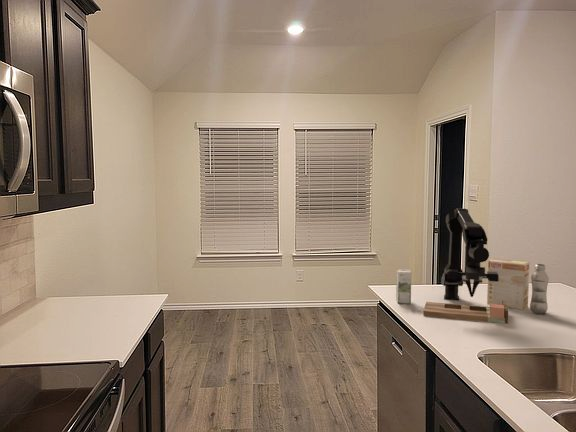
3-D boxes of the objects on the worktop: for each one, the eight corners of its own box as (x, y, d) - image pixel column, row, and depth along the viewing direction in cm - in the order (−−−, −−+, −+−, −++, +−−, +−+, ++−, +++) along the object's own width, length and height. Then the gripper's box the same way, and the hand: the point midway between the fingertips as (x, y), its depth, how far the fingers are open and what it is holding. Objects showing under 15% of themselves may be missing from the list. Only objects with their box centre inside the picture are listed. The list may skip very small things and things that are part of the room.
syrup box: (408, 300, 213) (409, 269, 212) (411, 304, 207) (411, 271, 206) (396, 300, 214) (396, 268, 212) (397, 303, 208) (398, 271, 207)
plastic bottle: (546, 311, 194) (548, 263, 193) (548, 316, 188) (550, 266, 186) (529, 309, 197) (531, 262, 195) (530, 314, 191) (531, 265, 189)
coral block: (489, 313, 185) (489, 303, 185) (503, 315, 183) (503, 305, 183) (489, 317, 181) (489, 307, 180) (503, 318, 179) (504, 308, 179)
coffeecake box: (528, 307, 201) (530, 262, 200) (523, 310, 196) (524, 264, 195) (492, 300, 212) (493, 258, 210) (486, 304, 206) (487, 260, 205)
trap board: (426, 306, 204) (426, 294, 203) (504, 313, 193) (504, 301, 193) (423, 315, 190) (423, 303, 190) (507, 323, 179) (508, 310, 179)
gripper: (446, 259, 180) (446, 299, 182) (500, 262, 174) (498, 304, 175) (447, 255, 191) (447, 293, 192) (498, 257, 184) (497, 296, 185)
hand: (471, 296), depth 186 cm, fingers closed
